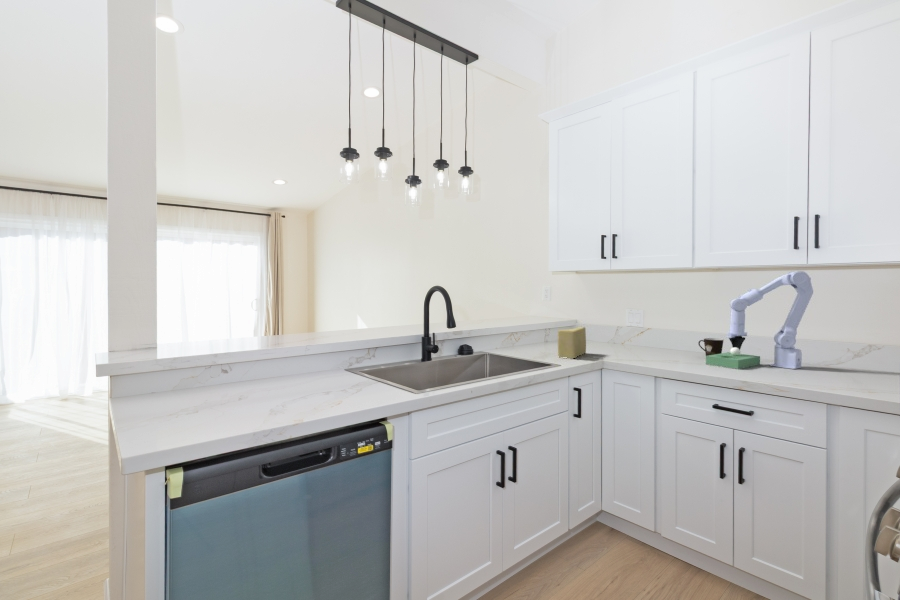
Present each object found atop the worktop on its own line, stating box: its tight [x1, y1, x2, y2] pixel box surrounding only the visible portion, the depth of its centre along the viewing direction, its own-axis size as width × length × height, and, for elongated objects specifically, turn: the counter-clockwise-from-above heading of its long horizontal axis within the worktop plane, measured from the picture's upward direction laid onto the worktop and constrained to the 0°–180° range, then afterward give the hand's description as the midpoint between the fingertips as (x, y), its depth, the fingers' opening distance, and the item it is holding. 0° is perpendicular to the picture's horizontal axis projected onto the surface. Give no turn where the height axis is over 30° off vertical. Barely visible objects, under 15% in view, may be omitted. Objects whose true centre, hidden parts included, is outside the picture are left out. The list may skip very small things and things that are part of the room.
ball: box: [729, 347, 741, 356], centre depth 202 cm, size 4×4×4 cm
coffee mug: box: [697, 337, 724, 357], centre depth 218 cm, size 12×9×10 cm
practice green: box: [705, 351, 761, 370], centre depth 200 cm, size 20×14×4 cm
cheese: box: [557, 326, 587, 359], centre depth 227 cm, size 22×10×15 cm, turn 137°
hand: (736, 351), depth 203 cm, fingers closed, pressing on ball
